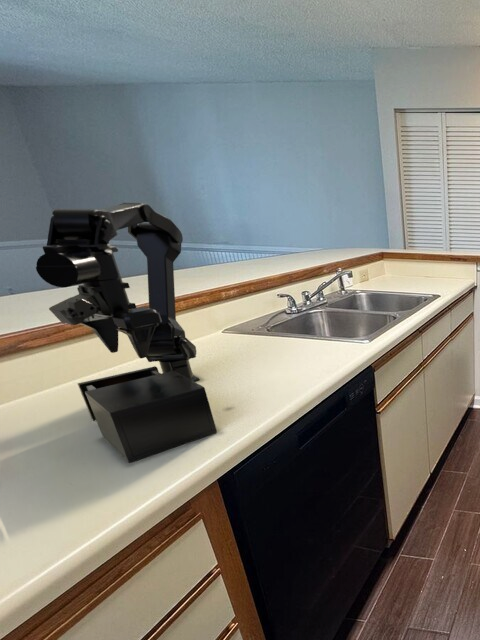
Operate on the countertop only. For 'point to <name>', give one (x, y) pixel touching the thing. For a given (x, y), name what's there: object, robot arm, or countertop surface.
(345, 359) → the countertop surface
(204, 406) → the black slanted wedge box
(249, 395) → the countertop surface
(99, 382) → the rack
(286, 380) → the countertop surface
